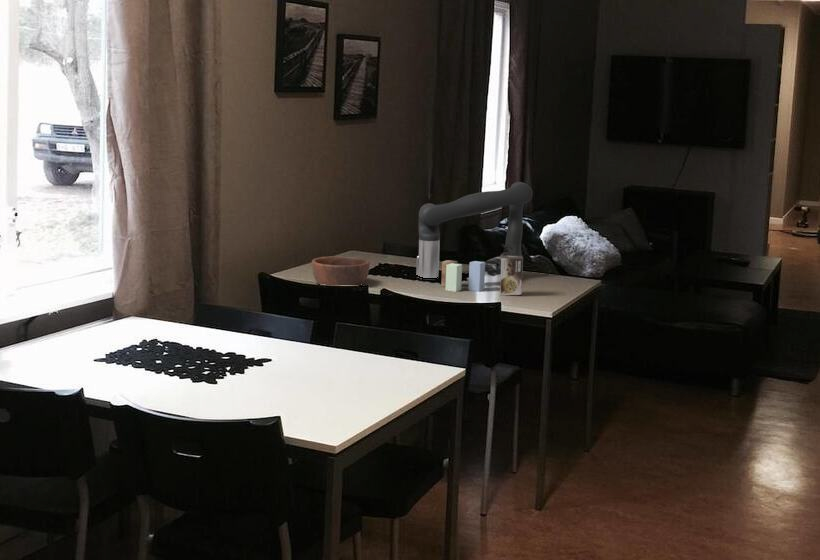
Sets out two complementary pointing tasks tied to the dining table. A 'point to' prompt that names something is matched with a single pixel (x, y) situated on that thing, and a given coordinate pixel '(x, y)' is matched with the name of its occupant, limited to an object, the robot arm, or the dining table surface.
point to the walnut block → (444, 263)
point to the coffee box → (511, 274)
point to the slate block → (476, 276)
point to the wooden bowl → (340, 270)
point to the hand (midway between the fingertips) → (480, 271)
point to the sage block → (453, 277)
